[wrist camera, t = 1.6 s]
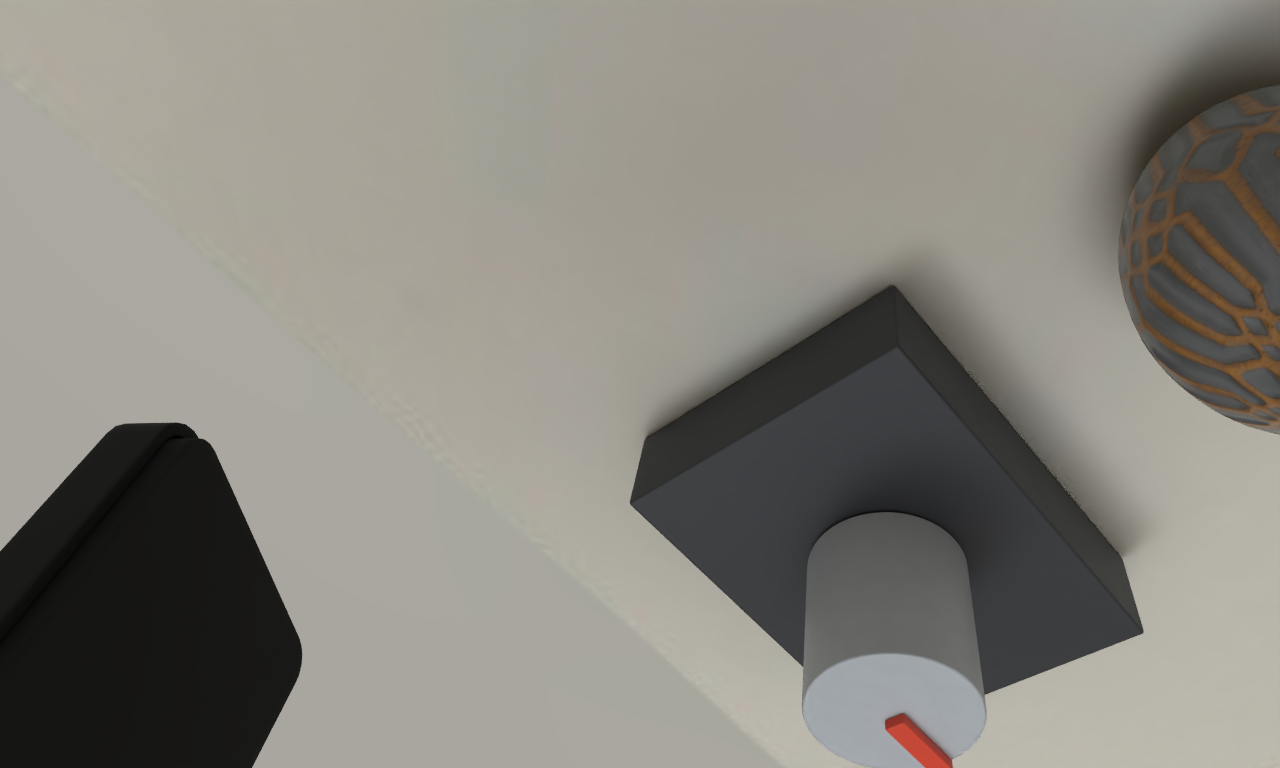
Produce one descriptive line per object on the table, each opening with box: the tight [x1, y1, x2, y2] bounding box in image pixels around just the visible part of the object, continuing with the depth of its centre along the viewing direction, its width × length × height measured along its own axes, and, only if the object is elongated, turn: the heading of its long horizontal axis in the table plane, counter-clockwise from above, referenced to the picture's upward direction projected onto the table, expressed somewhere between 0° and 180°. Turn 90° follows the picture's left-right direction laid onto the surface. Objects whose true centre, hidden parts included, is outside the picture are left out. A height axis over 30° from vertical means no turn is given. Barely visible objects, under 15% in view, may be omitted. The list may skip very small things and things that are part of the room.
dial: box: [802, 512, 987, 768], centre depth 28 cm, size 4×4×5 cm
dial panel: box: [630, 286, 1143, 695], centre depth 32 cm, size 12×9×3 cm
